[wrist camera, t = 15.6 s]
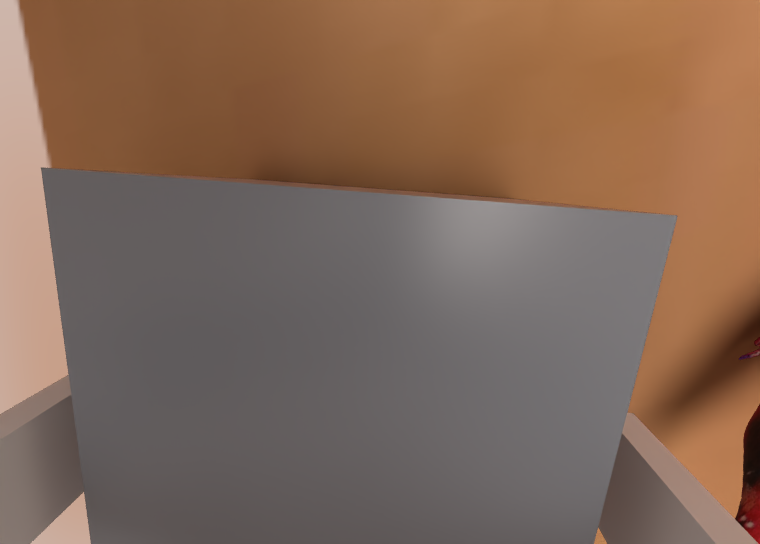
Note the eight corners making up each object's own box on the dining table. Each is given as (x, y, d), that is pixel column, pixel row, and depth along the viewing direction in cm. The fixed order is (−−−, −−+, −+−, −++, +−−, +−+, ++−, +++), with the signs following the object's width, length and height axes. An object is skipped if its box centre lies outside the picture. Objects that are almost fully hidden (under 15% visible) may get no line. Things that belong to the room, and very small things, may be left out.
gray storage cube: (253, 179, 15) (41, 167, 6) (512, 198, 14) (678, 215, 6) (255, 406, 17) (102, 628, 8) (477, 429, 16) (555, 691, 8)
